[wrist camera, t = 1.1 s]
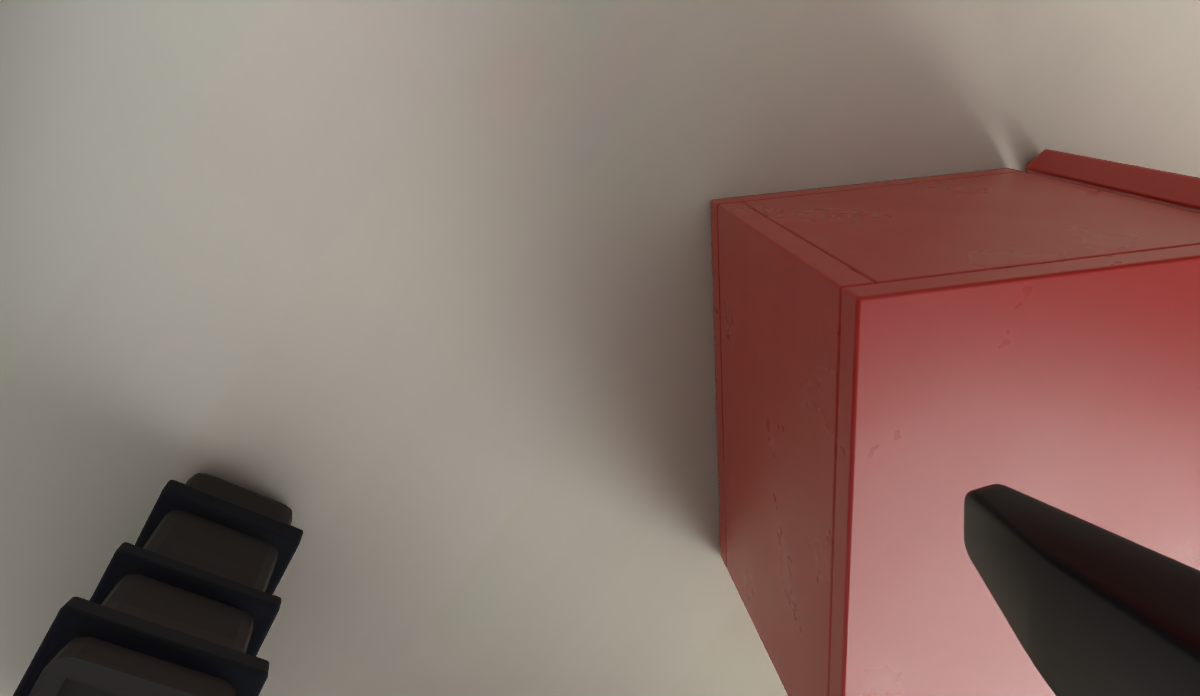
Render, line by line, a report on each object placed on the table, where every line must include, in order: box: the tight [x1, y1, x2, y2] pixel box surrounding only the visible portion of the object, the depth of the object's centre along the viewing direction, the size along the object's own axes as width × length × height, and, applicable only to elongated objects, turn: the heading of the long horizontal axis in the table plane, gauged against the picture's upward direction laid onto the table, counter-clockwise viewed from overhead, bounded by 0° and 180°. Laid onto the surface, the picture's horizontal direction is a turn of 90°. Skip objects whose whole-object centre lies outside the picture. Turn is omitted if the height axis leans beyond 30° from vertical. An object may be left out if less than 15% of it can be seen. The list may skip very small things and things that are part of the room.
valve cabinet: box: [711, 168, 1200, 696], centre depth 21 cm, size 12×9×10 cm
